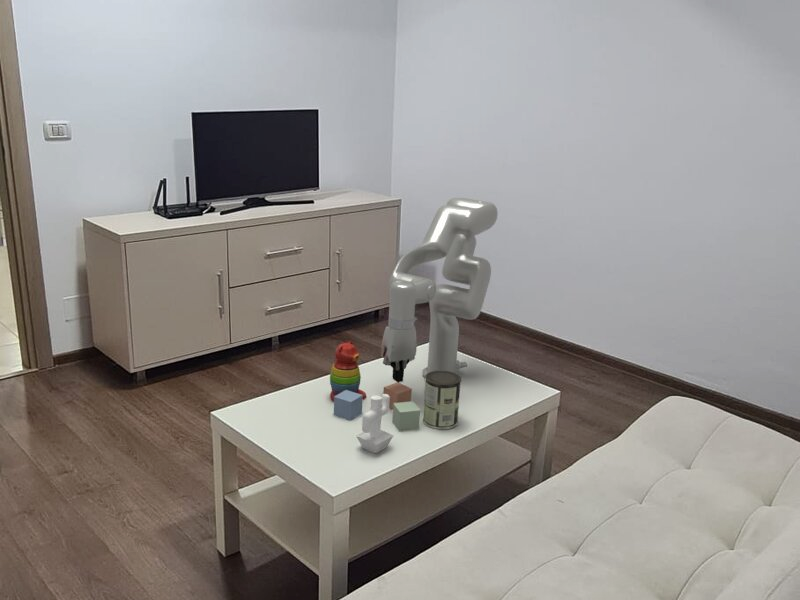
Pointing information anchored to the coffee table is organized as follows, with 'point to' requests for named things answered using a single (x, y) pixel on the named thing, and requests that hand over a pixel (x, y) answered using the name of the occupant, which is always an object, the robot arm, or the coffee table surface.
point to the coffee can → (441, 399)
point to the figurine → (375, 425)
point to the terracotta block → (397, 393)
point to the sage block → (406, 416)
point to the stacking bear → (345, 371)
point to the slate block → (348, 405)
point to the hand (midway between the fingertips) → (397, 380)
